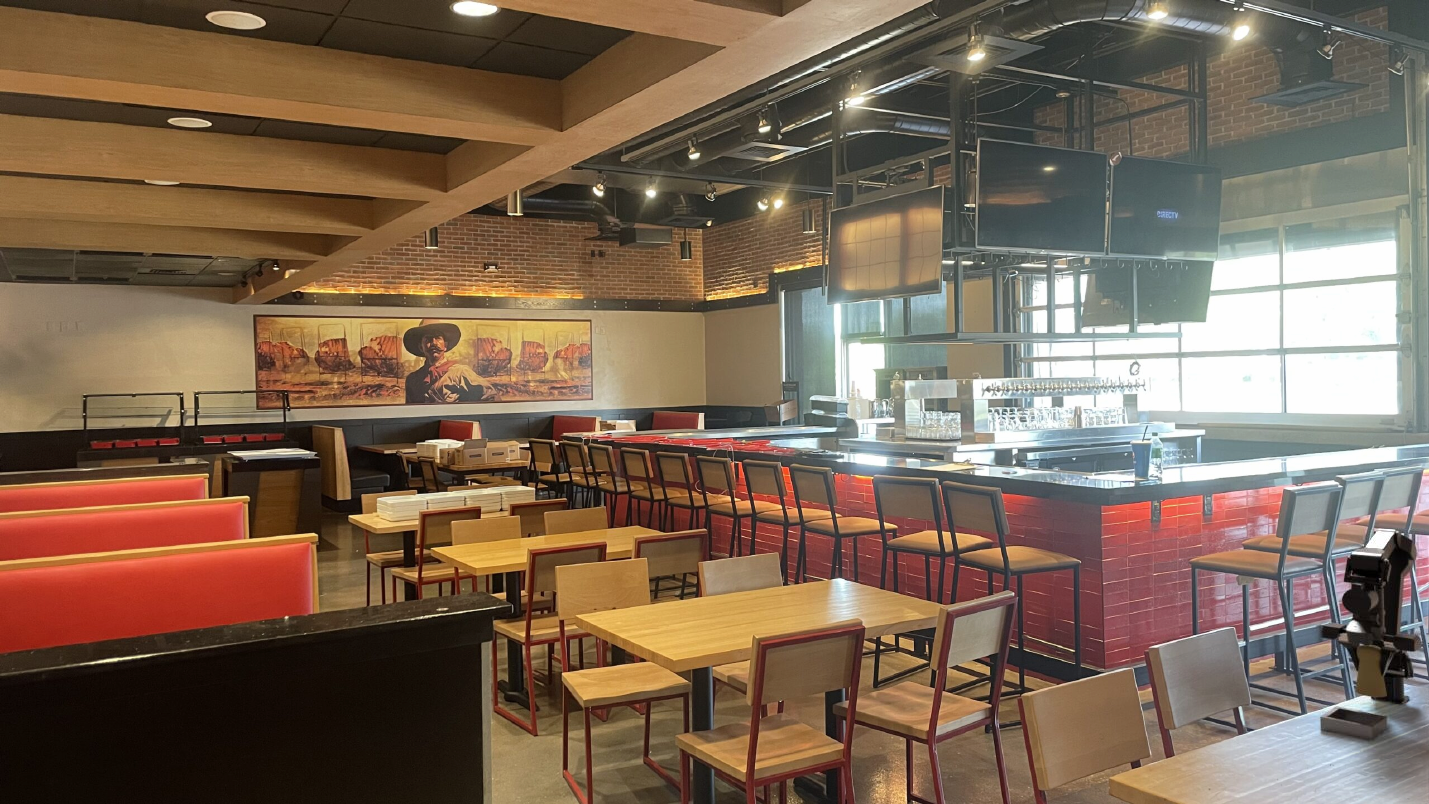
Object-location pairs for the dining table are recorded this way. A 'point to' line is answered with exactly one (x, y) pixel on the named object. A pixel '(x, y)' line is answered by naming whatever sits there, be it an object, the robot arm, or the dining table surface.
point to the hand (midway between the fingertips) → (1370, 673)
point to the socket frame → (1353, 723)
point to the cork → (1370, 672)
